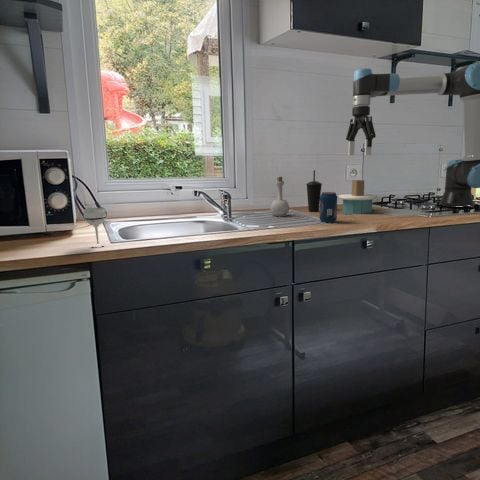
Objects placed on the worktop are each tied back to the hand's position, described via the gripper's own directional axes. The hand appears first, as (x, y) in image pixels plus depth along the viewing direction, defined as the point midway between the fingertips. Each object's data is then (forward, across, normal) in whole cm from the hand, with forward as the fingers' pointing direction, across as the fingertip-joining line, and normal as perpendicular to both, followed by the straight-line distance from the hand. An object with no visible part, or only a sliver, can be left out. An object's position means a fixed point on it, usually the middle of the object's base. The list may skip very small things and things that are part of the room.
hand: (359, 155), depth 176 cm
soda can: (+27, +17, -24) cm, 40 cm away
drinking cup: (+27, -13, -16) cm, 34 cm away
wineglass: (+27, +31, -113) cm, 120 cm away
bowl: (+27, 0, 0) cm, 27 cm away
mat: (+27, +10, +17) cm, 33 cm away
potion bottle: (+27, -7, -36) cm, 45 cm away
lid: (+20, 0, 0) cm, 20 cm away
